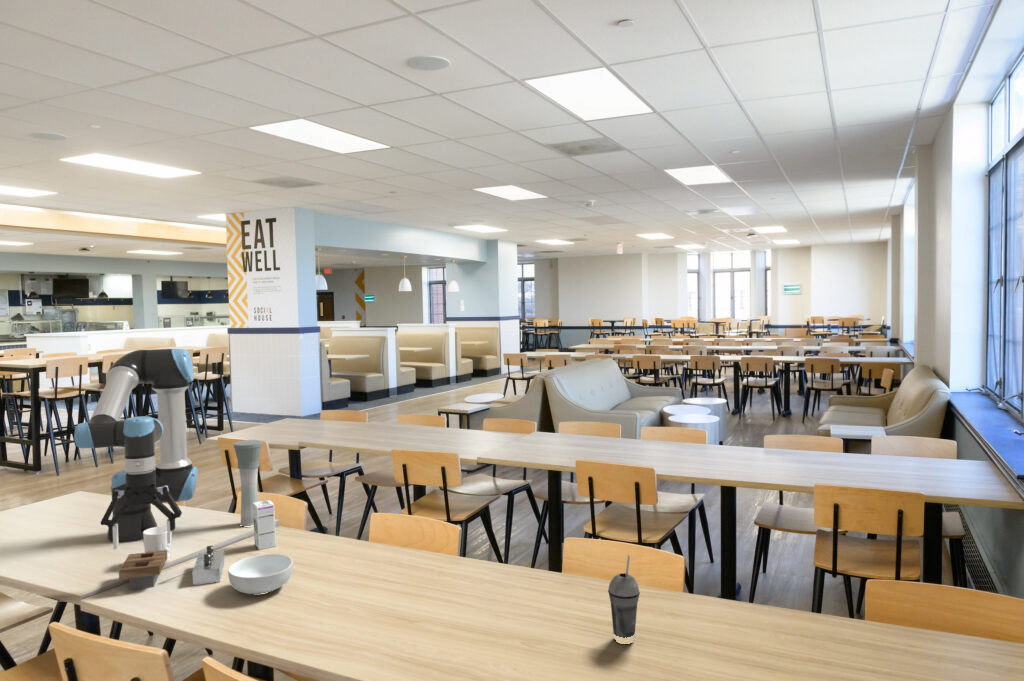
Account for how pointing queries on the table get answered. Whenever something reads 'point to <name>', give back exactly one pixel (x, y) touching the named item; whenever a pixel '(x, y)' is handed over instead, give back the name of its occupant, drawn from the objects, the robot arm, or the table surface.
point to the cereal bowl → (260, 573)
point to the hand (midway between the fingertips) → (143, 545)
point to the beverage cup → (624, 603)
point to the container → (248, 477)
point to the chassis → (208, 567)
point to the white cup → (157, 540)
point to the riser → (142, 582)
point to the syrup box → (264, 524)
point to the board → (143, 564)
